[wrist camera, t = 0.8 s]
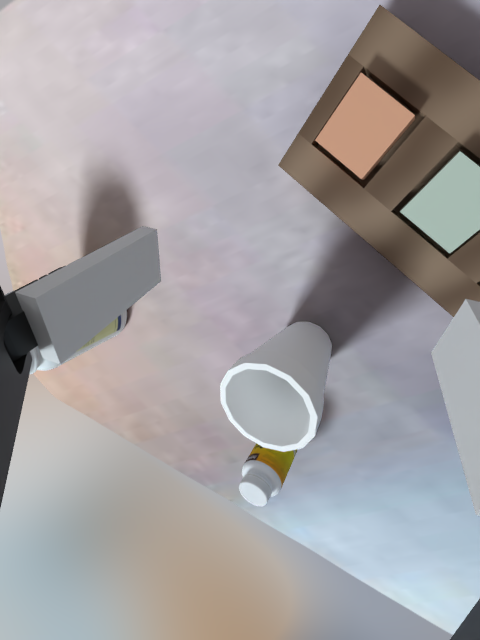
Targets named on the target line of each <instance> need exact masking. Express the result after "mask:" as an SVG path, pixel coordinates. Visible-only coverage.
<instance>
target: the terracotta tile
mask: <svg viewBox="0 0 480 640" xmlns="http://www.w3.org/2000/svg"><path fill="white" fill-rule="evenodd" d="M414 120H415V115H414V114H413V113H411V112H410V111H409V110H408V109H406V108H405V107H404V106H403V105H401V104H400V103H399V102H398V101H396V100H395V99H394V98H393V97H391V96H390V95H389V94H388V93H386V92H385V91H384V90H383V89H381V88H380V87H379V86H378V85H376V84H375V83H374V82H373V81H371V80H370V79H369V78H368V77H366V76H365V75H364V74H363V73H360V75H359V76H358V78H357V79H356V81H355V82H354V84H353V85H352V86H351V88H350V89H349V91H348V92H347V94H346V95H345V97H344V98H343V100H342V101H341V103H340V104H339V106H338V107H337V109H336V110H335V112H334V113H333V115H332V116H331V118H330V119H329V120H328V122H327V123H326V125H325V126H324V128H323V129H322V131H321V132H320V134H319V135H318V137H317V138H316V140H315V141H316V142H318V143H319V144H320V145H321V146H322V147H324V148H325V149H326V150H327V151H328V152H330V153H331V154H332V155H333V156H334V157H336V158H337V159H338V160H339V161H340V162H341V163H343V164H344V165H345V166H346V167H347V168H349V169H350V170H351V171H352V172H353V173H355V174H356V175H357V176H358V177H359V178H360V179H365V178H366V177H367V176H368V175H369V174H370V172H371V171H372V170H373V169H374V168H375V167H376V165H377V164H378V163H379V162H380V161H381V159H382V158H383V157H384V156H385V155H386V153H387V152H388V151H389V150H390V149H391V148H392V146H393V145H394V144H395V143H396V142H397V140H398V139H399V138H400V137H401V136H402V135H403V133H404V132H405V131H406V130H407V129H408V127H409V126H410V125H411V124H412V123H413V121H414Z"/></svg>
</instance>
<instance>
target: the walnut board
mask: <svg viewBox="0 0 480 640" xmlns="http://www.w3.org/2000/svg"><path fill="white" fill-rule="evenodd" d="M360 73H363V74H364V75H365V76H366V77H368V78H369V79H370V80H371V81H373V82H374V83H375V84H376V85H378V86H379V87H380V88H381V89H383V90H384V91H385V92H386V93H388V94H389V95H390V96H391V97H393V98H394V99H395V100H396V101H398V102H399V103H400V104H401V105H403V106H404V107H405V108H406V109H408V110H409V111H410V112H411V113H413V114H414V115H415V120H414V121H413V123H412V124H411V125H410V126H409V127H408V129H407V130H406V131H405V132H404V133H403V135H402V136H401V137H400V138H399V139H398V140H397V142H396V143H395V144H394V145H393V146H392V148H391V149H390V150H389V151H388V152H387V153H386V155H385V156H384V157H383V158H382V159H381V161H380V162H379V163H378V164H377V165H376V167H375V168H374V169H373V170H372V171H371V172H370V174H369V175H368V176H367V177H366V178H365V179H360V178H359V177H358V176H357V175H356V174H355V173H353V172H352V171H351V170H350V169H349V168H347V167H346V166H345V165H344V164H343V163H341V162H340V161H339V160H338V159H337V158H336V157H334V156H333V155H332V154H331V153H330V152H328V151H327V150H326V149H325V148H324V147H322V146H321V145H320V144H319V143H318V142H316V141H315V140H316V138H317V137H318V135H319V134H320V132H321V131H322V129H323V128H324V126H325V125H326V123H327V122H328V120H329V119H330V118H331V116H332V115H333V113H334V112H335V110H336V109H337V107H338V106H339V104H340V103H341V101H342V100H343V98H344V97H345V95H346V94H347V92H348V91H349V89H350V88H351V86H352V85H353V84H354V82H355V81H356V79H357V78H358V76H359V75H360ZM459 151H460V152H462V153H463V154H464V155H465V156H467V157H468V158H469V159H471V160H472V161H473V162H474V163H476V164H477V165H478V166H479V167H480V81H479V80H478V79H477V78H476V77H474V76H473V75H472V74H470V73H469V72H468V71H466V70H465V69H464V68H462V67H461V66H460V65H458V64H457V63H456V62H455V61H453V60H452V59H451V58H449V57H448V56H447V55H445V54H444V53H443V52H441V51H440V50H439V49H437V48H436V47H435V46H434V45H432V44H431V43H430V42H428V41H427V40H426V39H424V38H423V37H422V36H420V35H419V34H418V33H416V32H415V31H414V30H413V29H411V28H410V27H409V26H407V25H406V24H405V23H403V22H402V21H401V20H399V19H398V18H397V17H395V16H394V15H393V14H392V13H390V12H389V11H388V10H386V9H385V8H384V7H382V6H381V5H379V7H378V8H377V10H376V12H375V13H374V15H373V16H372V18H371V19H370V21H369V23H368V24H367V26H366V27H365V29H364V30H363V32H362V34H361V35H360V37H359V38H358V40H357V42H356V43H355V45H354V46H353V48H352V49H351V51H350V53H349V54H348V56H347V57H346V59H345V60H344V62H343V64H342V65H341V67H340V68H339V70H338V72H337V73H336V75H335V76H334V78H333V79H332V81H331V83H330V84H329V86H328V87H327V89H326V90H325V92H324V94H323V95H322V97H321V98H320V100H319V102H318V103H317V105H316V106H315V108H314V109H313V111H312V113H311V114H310V116H309V117H308V119H307V120H306V122H305V124H304V125H303V127H302V128H301V130H300V132H299V133H298V135H297V136H296V138H295V139H294V141H293V143H292V144H291V146H290V147H289V149H288V150H287V152H286V154H285V155H284V157H283V158H282V160H281V162H280V163H279V165H278V166H280V167H281V168H282V169H283V170H284V171H285V172H287V173H288V174H289V175H290V176H291V177H292V178H294V179H295V180H296V181H297V182H298V183H299V184H300V185H302V186H303V187H304V188H305V189H306V190H307V191H309V192H310V193H311V194H312V195H313V196H314V197H315V198H317V199H318V200H319V201H320V202H321V203H322V204H324V205H325V206H326V207H327V208H328V209H329V210H330V211H332V212H333V213H334V214H335V215H336V216H337V217H339V218H340V219H341V220H342V221H343V222H344V223H346V224H347V225H348V226H349V227H350V228H351V229H352V230H354V231H355V232H356V233H357V234H358V235H359V236H361V237H362V238H363V239H364V240H365V241H366V242H367V243H369V244H370V245H371V246H372V247H373V248H374V249H376V250H377V251H378V252H379V253H380V254H381V255H382V256H384V257H385V258H386V259H387V260H388V261H389V262H391V263H392V264H393V265H394V266H395V267H396V268H398V269H399V270H400V271H401V272H402V273H403V274H404V275H406V276H407V277H408V278H409V279H410V280H411V281H413V282H414V283H415V284H416V285H417V286H418V287H419V288H421V289H422V290H423V291H424V292H425V293H426V294H428V295H429V296H430V297H431V298H432V299H433V300H434V301H436V302H437V303H438V304H439V305H440V306H441V307H443V308H444V309H445V310H446V311H447V312H448V313H450V314H451V315H452V316H453V317H454V316H455V315H456V313H457V312H458V310H459V309H460V307H461V306H462V304H463V302H464V301H465V299H469V300H473V301H478V302H480V230H478V231H477V232H476V233H475V234H473V235H472V236H471V237H470V238H469V239H467V240H466V241H465V242H464V243H462V244H461V245H460V246H459V247H457V248H456V249H455V250H454V251H453V252H451V253H448V252H447V251H446V250H445V249H444V248H443V247H441V246H440V245H439V244H438V243H437V242H435V241H434V240H433V239H432V238H431V237H429V236H428V235H427V234H426V233H425V232H423V231H422V230H421V229H420V228H419V227H418V226H416V225H415V224H414V223H413V222H412V221H410V220H409V219H408V218H407V217H406V216H404V215H403V214H402V213H401V212H400V210H401V209H402V208H403V207H404V206H405V205H406V204H407V203H408V202H409V201H410V200H411V199H412V198H413V197H414V196H415V195H416V194H417V193H418V192H419V191H420V190H421V189H422V188H423V187H424V186H425V185H426V184H427V183H428V182H429V181H430V180H431V179H432V178H433V177H434V176H435V175H436V174H437V172H438V171H439V170H440V169H441V168H442V167H443V166H444V165H445V164H446V163H447V162H448V161H449V160H450V159H451V158H452V157H453V156H454V155H455V154H456V153H458V152H459Z"/></svg>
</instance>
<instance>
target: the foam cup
mask: <svg viewBox="0 0 480 640" xmlns="http://www.w3.org/2000/svg"><path fill="white" fill-rule="evenodd" d="M331 350H332V344H331V341H330V338H329V336H328V334H327V333H326V332H325V331H324V330H323V329H322V328H321V327H320V326H318V325H316V324H313V323H311V322H296V323H294V324H292V325H290V326H288V327H286V328H285V329H284V330H282V331H281V332H279V333H278V334H277V335H275V336H274V337H272V338H271V339H270V340H268V341H267V342H265V343H264V344H263V345H261V346H260V347H258V348H257V349H256V350H254V351H253V352H251V353H249V354H247V355H245V356H243V357H241V358H240V359H239V360H238V361H237V362H236V363H235V364H234V365H233V366H232V367H231V368H230V369H229V370H228V372H227V373H226V375H225V377H224V379H223V380H222V382H221V384H220V393H221V404H222V406H223V408H224V410H225V412H226V414H227V416H228V418H229V420H230V421H231V422H232V424H233V425H234V426H235V427H236V428H237V429H238V430H239V431H240V432H241V433H242V434H243V435H244V436H245V437H247V438H248V439H250V440H252V441H254V442H255V443H257V444H259V445H260V446H262V447H264V448H269V449H273V450H278V451H282V452H286V451H291V450H296V449H302V448H303V447H304V446H305V445H306V444H307V443H308V442H309V441H310V440H311V439H312V438H313V437H315V434H316V432H317V429H318V427H319V424H320V421H321V419H322V412H323V405H324V398H323V395H324V390H325V384H326V379H327V373H328V368H329V362H330V356H331Z"/></svg>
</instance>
